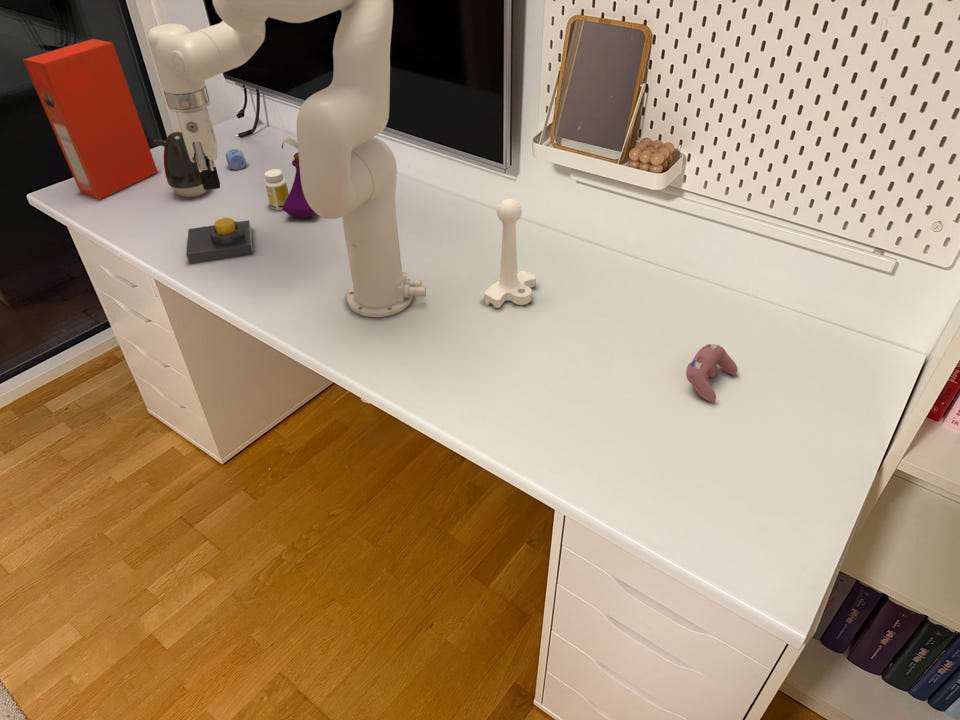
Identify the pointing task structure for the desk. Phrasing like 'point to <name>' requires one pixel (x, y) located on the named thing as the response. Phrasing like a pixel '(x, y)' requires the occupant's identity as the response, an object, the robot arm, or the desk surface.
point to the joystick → (510, 262)
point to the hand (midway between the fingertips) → (212, 187)
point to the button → (225, 226)
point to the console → (218, 243)
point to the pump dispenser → (180, 167)
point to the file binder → (92, 116)
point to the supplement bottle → (276, 188)
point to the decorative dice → (235, 159)
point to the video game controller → (708, 369)
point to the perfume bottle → (296, 192)
